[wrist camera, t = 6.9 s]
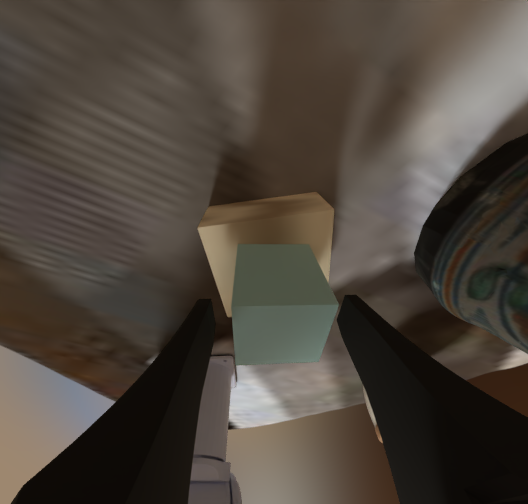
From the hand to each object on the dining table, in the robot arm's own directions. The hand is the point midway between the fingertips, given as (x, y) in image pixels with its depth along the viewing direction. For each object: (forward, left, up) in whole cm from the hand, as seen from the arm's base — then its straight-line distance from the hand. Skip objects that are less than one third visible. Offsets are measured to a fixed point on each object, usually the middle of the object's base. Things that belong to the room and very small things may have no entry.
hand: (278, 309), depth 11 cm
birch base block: (0, 0, -7) cm, 7 cm away
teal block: (0, 0, -3) cm, 3 cm away
